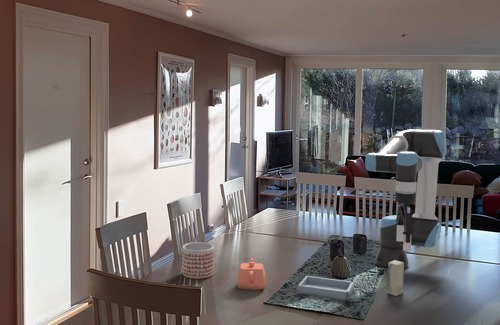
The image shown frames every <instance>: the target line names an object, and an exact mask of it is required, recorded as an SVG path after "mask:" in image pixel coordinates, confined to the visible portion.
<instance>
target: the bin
mask: <svg viewBox="0 0 500 325" xmlns="http://www.w3.org/2000/svg"><path fill="white" fill-rule="evenodd" d="M354 290H355V281H350V280H342V279H334V278H327V277H318V276H313V275H312V276H311V275H305V277H303V279H302V280H301V281H300V282H299V284H298V285H297V294H298V295H306V296H314V297H319V298H327V299H328V298H329V299H332V300H333V299H334V300H340V301H349V300H350V298H351V296H352V295H353V294H352V293H353V292H354Z"/></svg>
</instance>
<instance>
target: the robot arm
mask: <svg viewBox="0 0 500 325" xmlns="http://www.w3.org/2000/svg"><path fill="white" fill-rule="evenodd" d="M447 148H448V147H447V138H446V134H445V132H444V131H443V130H439V129H438V130H436V129H412V128H411V129H407V130H406V129H405V130H402V131H399V132H397V133H395V134H394V135H392V136H391V137H390V138H388V140H387V142H386V144H385V145H384V146H383V147H382V148H381V149H380V150H379V151H378V152H369V153H367V154H366V156H365V161H364V162H365V169H366V170H367V171H369V172H375V173H376V172H378V173H392V174H394V173H395V175H396V176H395V183H394V184H393V185H394V186H395V191H396V192H395V193H394V195H395V196H394V200H395V201H394V202H396V203H397V211H396V214H394V215H393V214H392V215H388V216H383V217H382V218H381V220H380V226H379V229H380V230H379V248H378V251H377V253H376V256H375V259H374V261H375V262H374V263H375V265H377V266H378V267H382V268H386V269H388V263H389V262H391V261H394V260H396V261H400V262H404V269H406V268H407V267H409V258H408V255H407V252H411V251H412V246H414V247H421V248H428V249H429V248H430V249H434V248H435V247H436V246H437V245H438V242H439V239H440V236H441V235H440V234H441V230H442V225H441V223H440V222H438V221H439V218H438V217H437V216H436V215H435V213H436V199H437V186H438V177H439V176H438V175H439V163H440V162H442V161H443V157H445V156H447V151H448V149H447ZM411 204H415V208H414V213H413V207H411Z"/></svg>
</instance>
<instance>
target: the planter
mask: <svg viewBox="0 0 500 325" xmlns="http://www.w3.org/2000/svg"><path fill="white" fill-rule="evenodd" d="M181 249H182V250H181V251H182V252H181V253H182V254H181V256H182V276H183V277H185V278H186V279H190V280H203V279H204V280H205V279H209V278H211V277H213V276H214V273H215V272H214V271H215V270H214V269H215V268H214V267H215V263H214V261H215V247H214V244H211V243H208V242H199V241H198V242H197V241H196V242H189V243H185V244H183V245H182V248H181Z"/></svg>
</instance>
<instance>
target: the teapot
mask: <svg viewBox="0 0 500 325" xmlns="http://www.w3.org/2000/svg"><path fill="white" fill-rule="evenodd" d="M254 260H255V259H254V257H251V258H250V261H249V262H244V263H243V262H242V263H240V266H239V269H238V274H237V287H238V289H240V290H256V291H258V290H263V289H265V287H266V273H265V267H264V264H263V263H260V262H259V263H257V262H255V261H254Z"/></svg>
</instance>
